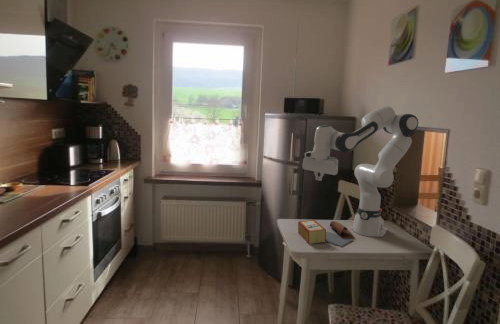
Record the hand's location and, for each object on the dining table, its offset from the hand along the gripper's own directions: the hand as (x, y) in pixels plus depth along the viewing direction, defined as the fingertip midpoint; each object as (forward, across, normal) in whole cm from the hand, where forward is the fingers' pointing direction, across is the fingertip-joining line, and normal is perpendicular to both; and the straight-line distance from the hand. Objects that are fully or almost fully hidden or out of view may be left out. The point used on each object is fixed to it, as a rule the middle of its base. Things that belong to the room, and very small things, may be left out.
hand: (318, 180), depth 182 cm
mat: (+30, -12, 0) cm, 32 cm away
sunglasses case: (+30, -10, -13) cm, 34 cm away
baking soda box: (+26, +3, +3) cm, 27 cm away
